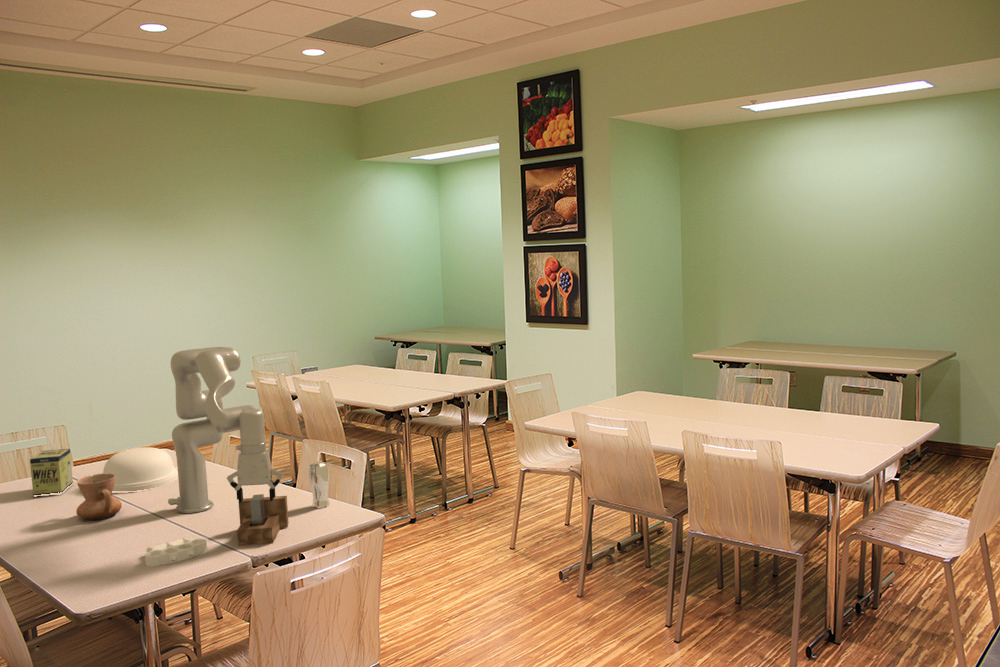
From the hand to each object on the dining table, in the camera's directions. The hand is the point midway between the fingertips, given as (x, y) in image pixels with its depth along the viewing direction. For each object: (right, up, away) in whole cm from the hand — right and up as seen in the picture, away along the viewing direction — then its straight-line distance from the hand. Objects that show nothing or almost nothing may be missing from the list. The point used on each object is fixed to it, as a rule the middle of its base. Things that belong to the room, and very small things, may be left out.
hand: (256, 500), depth 251 cm
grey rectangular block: (+1, -11, +1) cm, 11 cm away
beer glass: (+14, -9, +31) cm, 35 cm away
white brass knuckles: (-21, -15, -13) cm, 28 cm away
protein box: (-102, -10, +65) cm, 121 cm away
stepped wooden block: (+1, -12, +2) cm, 12 cm away
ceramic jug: (-65, -12, +29) cm, 72 cm away
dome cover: (-71, -9, +73) cm, 102 cm away
